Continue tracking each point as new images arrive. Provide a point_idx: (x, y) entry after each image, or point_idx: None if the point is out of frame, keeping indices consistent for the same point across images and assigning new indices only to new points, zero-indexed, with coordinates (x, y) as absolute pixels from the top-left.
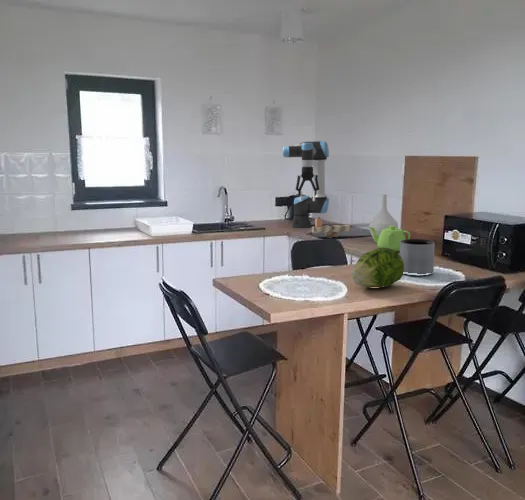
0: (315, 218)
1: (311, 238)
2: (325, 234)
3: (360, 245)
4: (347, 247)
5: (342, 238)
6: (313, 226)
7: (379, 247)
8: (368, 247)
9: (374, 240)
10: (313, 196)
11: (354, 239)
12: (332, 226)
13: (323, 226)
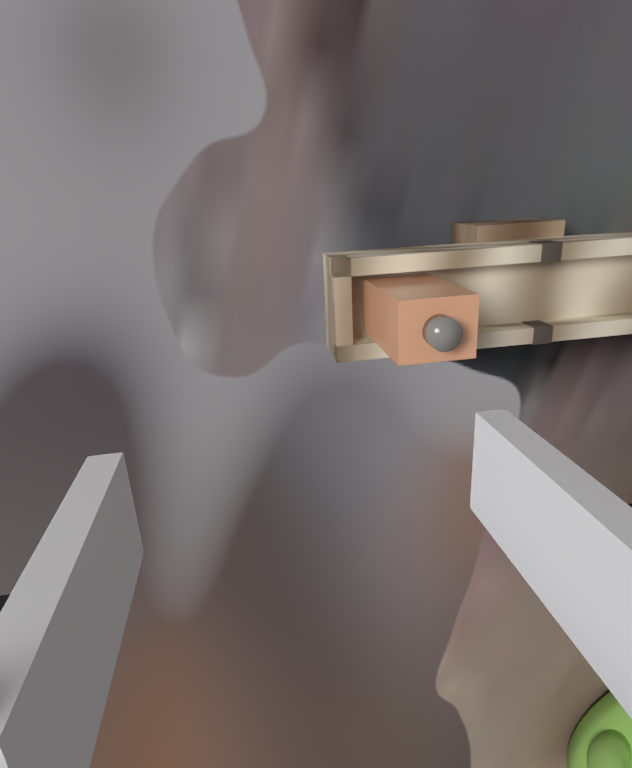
0: (398, 309)
1: (296, 310)
2: (460, 225)
3: (539, 617)
4: (442, 664)
5: (547, 360)
6: (350, 270)
7: (567, 765)
8: (552, 669)
9: (586, 762)
10: (534, 539)
11: (608, 418)
12: (544, 328)
13: (466, 266)
